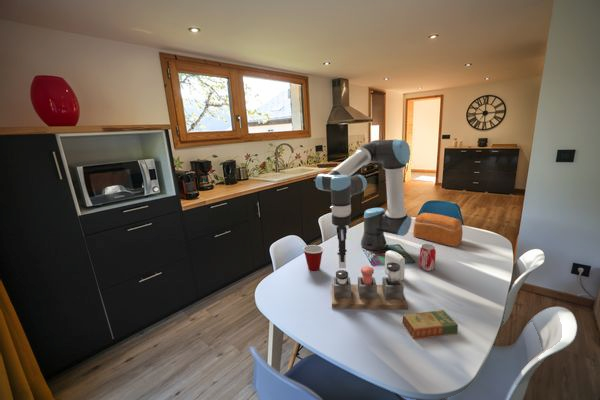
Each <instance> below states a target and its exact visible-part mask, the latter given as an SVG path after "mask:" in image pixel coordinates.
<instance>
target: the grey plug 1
mask: <svg viewBox="0 0 600 400" xmlns="http://www.w3.org/2000/svg"><path fill="white" fill-rule="evenodd" d="M335 277H337V284H346V285H347V278H348V277H349V272H348V271H347V270H343V269H339V270H337V271H336V272H335Z"/></svg>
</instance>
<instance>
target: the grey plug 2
mask: <svg viewBox="0 0 600 400" xmlns="http://www.w3.org/2000/svg"><path fill="white" fill-rule="evenodd" d="M387 269H388V274H387V277H388V285H398V271H399V270H400V265H399V264H397V263H393V262H391V263H388V264H387Z"/></svg>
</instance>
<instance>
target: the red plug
mask: <svg viewBox="0 0 600 400" xmlns="http://www.w3.org/2000/svg"><path fill="white" fill-rule="evenodd" d="M374 270H375V268H374V267H371V266H368V265H363V266H361V267H360V272H361V274H362V276H361V277H362V285H372V277H373V274H374V273H375V271H374Z"/></svg>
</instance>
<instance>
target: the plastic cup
mask: <svg viewBox="0 0 600 400" xmlns="http://www.w3.org/2000/svg"><path fill="white" fill-rule="evenodd" d="M302 251H303V252H304V256H305V260H306V264H307V269H308V270H310V272H311V273H315V272H319V270H320V268H321V263H322V256H323V252H324V251H325V248H324V247H323V246H321V245H317V244H310V245H309V244H308V245H305V246H304V247H302Z"/></svg>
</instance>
